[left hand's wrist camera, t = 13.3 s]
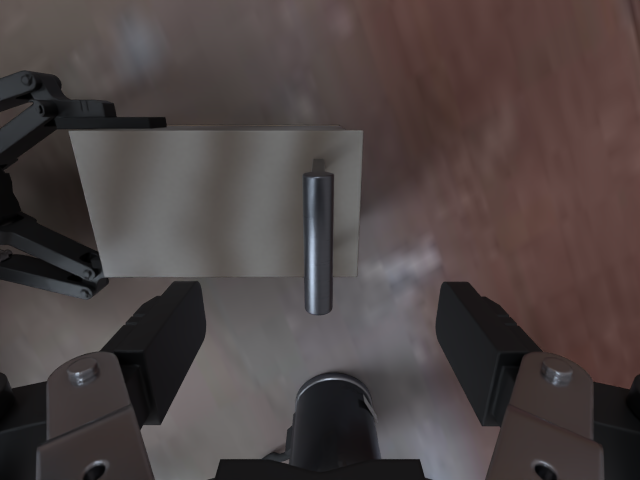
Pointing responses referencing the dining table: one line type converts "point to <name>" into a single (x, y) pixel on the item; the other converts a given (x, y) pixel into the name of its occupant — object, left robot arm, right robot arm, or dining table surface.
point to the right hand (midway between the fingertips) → (169, 194)
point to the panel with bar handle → (225, 203)
